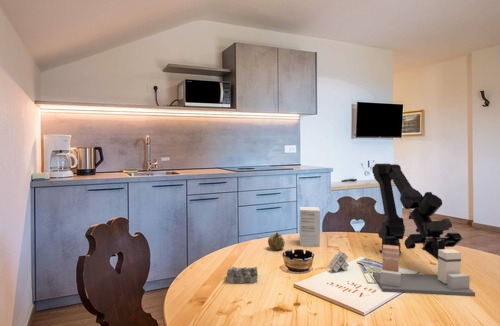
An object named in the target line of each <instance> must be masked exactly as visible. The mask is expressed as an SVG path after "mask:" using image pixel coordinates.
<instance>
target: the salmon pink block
mask: <svg viewBox="0 0 500 326" xmlns="http://www.w3.org/2000/svg"><path fill="white" fill-rule="evenodd" d="M381 250H382V249H381ZM381 253H382V254H381V255H382V267H381V268H382V269H381V270H385V271H393V272H400V270H399V266H400V265H399V263H400V262H399V261H400V253H399V246H392V245H383V250H382V252H381Z"/></svg>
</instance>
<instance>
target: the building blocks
mask: <svg viewBox="0 0 500 326" xmlns="http://www.w3.org/2000/svg"><path fill="white" fill-rule="evenodd" d="M348 258H349V256H347V255H346V254H345V252H343V251H338V253H337V254H335V255H334V257H333V258H332V259H331V260H330V262H329V263H328V265H327V267H328V269H330V270H331V271H332V272H335V273H338V271H339V270H342V271H344V272H345V271H346V270H347V269H348V267H349V266H350V265H349V264H348V262H347V260H348Z"/></svg>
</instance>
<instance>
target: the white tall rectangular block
mask: <svg viewBox="0 0 500 326" xmlns="http://www.w3.org/2000/svg"><path fill="white" fill-rule="evenodd" d="M461 258H462V252H460V251H459V250H456V249H454V248H445V249H438V260H437V275H438V280H440V281H442V282H444V283H445V284H447V283H448V274H461V265H462V263H461V261H462V259H461Z"/></svg>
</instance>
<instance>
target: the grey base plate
mask: <svg viewBox="0 0 500 326" xmlns="http://www.w3.org/2000/svg"><path fill="white" fill-rule="evenodd" d="M372 277H373V278H374V280H375V281H376V283H377V285H378V286H379V287H380V289H381V291H382V292H387V293H388V292H391V293H407V294H426V295H427V294H429V295H444V296H445V295H447V296H448V295H449V296H450V295H451V296H464V297H465V296H471V297H475V296H476V292H475V291H473V289H471V288H470V282H471V281H470V278H471V277H470V275H469V274H467V273H460V274H448V283H447V284H445V283H444V282H442V281H440V280H438V274H422V273H421V274H419V273H401V272H400V271H399V272H393V271H385V270H382V269H380V272H378V271H377V272H376V271H375V272H372Z"/></svg>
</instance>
